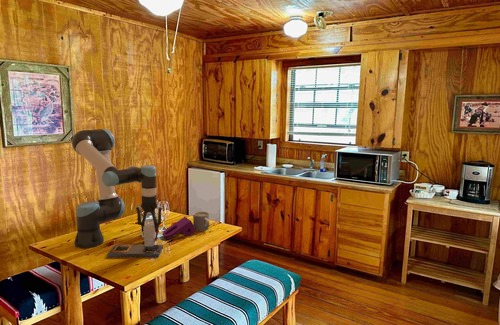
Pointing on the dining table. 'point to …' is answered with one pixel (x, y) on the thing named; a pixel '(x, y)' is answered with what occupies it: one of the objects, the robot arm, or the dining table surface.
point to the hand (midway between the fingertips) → (149, 237)
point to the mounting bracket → (180, 228)
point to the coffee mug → (201, 221)
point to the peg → (149, 234)
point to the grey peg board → (135, 251)
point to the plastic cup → (153, 221)
